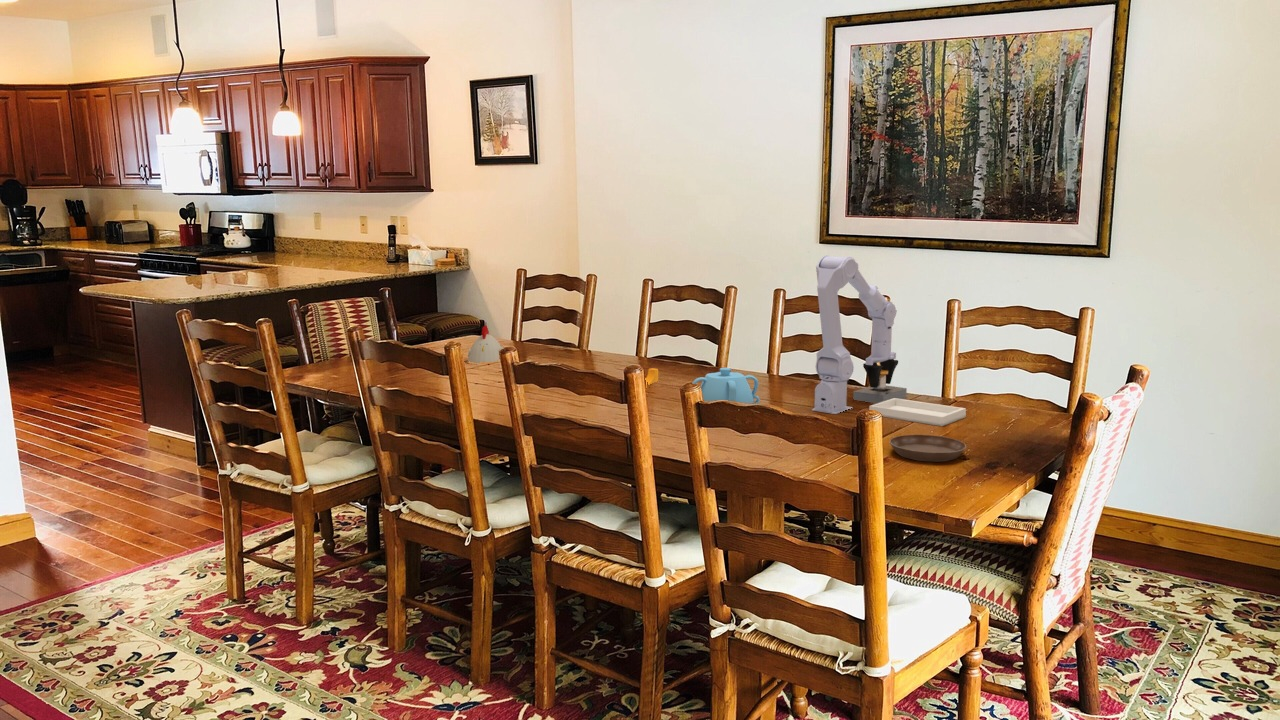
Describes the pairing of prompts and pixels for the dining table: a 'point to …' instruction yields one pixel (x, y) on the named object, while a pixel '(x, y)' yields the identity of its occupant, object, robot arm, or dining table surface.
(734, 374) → the decorative pot
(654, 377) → the pipe clamp
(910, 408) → the tray
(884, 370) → the gold capped clear cylinder
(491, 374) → the dining table surface
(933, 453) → the plant saucer
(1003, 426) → the dining table surface
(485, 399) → the dining table surface
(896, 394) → the block
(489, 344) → the kitchen timer
